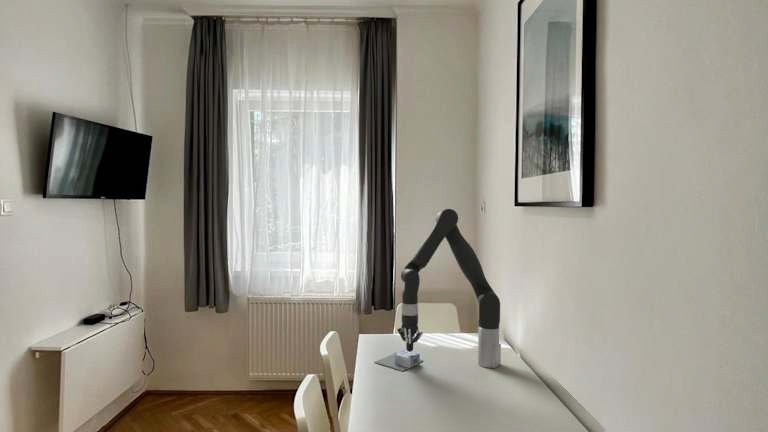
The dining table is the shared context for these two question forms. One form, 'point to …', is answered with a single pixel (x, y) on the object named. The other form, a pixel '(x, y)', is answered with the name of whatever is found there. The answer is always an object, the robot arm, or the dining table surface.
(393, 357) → the rubber mat
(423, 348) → the dining table surface
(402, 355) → the medicine box
